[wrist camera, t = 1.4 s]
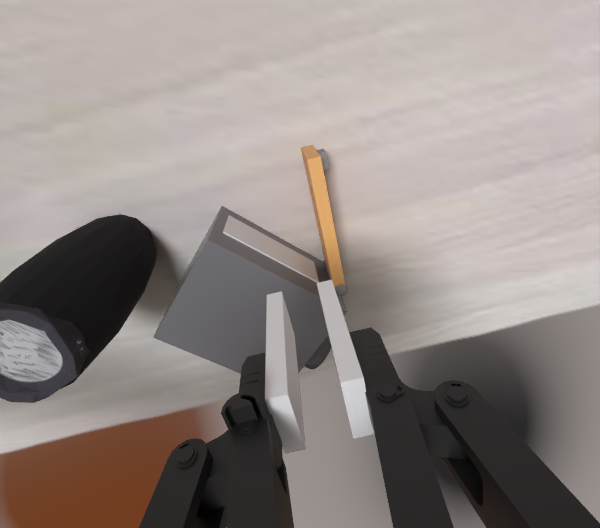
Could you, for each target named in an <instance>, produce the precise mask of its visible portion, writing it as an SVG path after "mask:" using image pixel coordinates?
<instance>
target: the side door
mask: <svg viewBox="0 0 600 528" xmlns="http://www.w3.org/2000/svg"><path fill="white" fill-rule="evenodd" d="M301 151H302V156H303V160H304V165H305V170H306V174H307V179H308V184H309V188H310V193H311V198H312V202H313V207H314V212H315V216H316V221H317V226H318V230H319V235H320V240H321V244H322V249H323V254H324V258H325V260H324V262H325V265H326V269H327V272H328V275H329V278H330V280H332V282H333V285H334V288H335V291H336V294H337V295H338V296H342V295H344V294H345V293H346V292H347V287H346V284H345V280H344V275H343V270H342V265H341V259H340V254H339V249H338V244H337V239H336V233H335V228H334V223H333V218H332V213H331V207H330V202H329V197H328V192H327V187H326V181H325V176H324V171H323V170H327V169H329V165H328V159H327V154H326V151H325V150H324V149H320V150H316V149H315V148H314V147H313V146H312V145H310V146H306V147H302V148H301Z"/></svg>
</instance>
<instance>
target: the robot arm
mask: <svg viewBox="0 0 600 528" xmlns="http://www.w3.org/2000/svg"><path fill="white" fill-rule="evenodd" d="M317 287H318V291H319V296H320V300H321V304H322V308H323V313H324V317H325V321H326V326H327V330H328V334H329V338H330V342H331V347H332V351H333V355H334V359H335V363H336V368H337V372H338V376H339V380H340V384H341V389H342V393H343V397H344V401H345V405H346V410H347V414H348V418H349V422H350V426H351V431H352V435H353V438H358V437H363V436H368V435H372V434H375V437H376V442H377V447H378V452H379V457H380V462H381V467H382V472H383V478H384V483H385V487H386V493H387V498H388V503H389V508H390V513H391V518H392V523H393V527H394V528H453V524H452V522H451V518H450V515H449V512H448V510H447V507H446V504H445V500H444V497H443V494H442V492H441V488H440V485H439V482H438V479H437V476H436V473H435V470H434V467H433V464H432V461H431V459H430V456H436V457H441V458H442V460H443V461H444V463H445V465H446V466H447V468H448V469H449V471H450V472H451V474H452V475H453V477H454V478H455V480H456V481H457V483H458V484H459V486H460V487H461V489H462V491H463V492H464V494H465V495H466V497H467V498H468V500H469V501H470V503H471V505H472V506H473V508H474V509H475V511H476V512H477V514H478V515H479V517H480V518H481V520H482V521H483V523H484V524H485V526H486V528H600V523H599V522H598V521H597V520H596V519H595V518H594V517H593V516H592V515H591V514H590V512H589V511H588V510H587V509H586V508H585V507H584V506H583V505H582V504H581V503H580V502H579V500H578V499H577V498H576V497H575V496H574V495H573V494H572V493H571V492H570V491H569V490H568V489H567V488H566V487H565V485H564V484H563V483H562V482H561V481H560V480H559V479H558V478H557V477H556V476H555V475H554V473H553V472H552V471H551V470H550V469H549V468H548V467H547V466H546V465H545V464H544V463H543V462H542V461H541V459H540V458H539V457H538V456H537V455H536V454H535V453H534V452H533V451H532V450H531V449H530V448H529V447H528V446H527V444H526V443H525V442H524V441H523V440H522V439H521V438H520V437H519V436H518V435H517V434H516V432H515V431H514V430H513V429H512V428H511V427H510V426H509V425H508V424H507V423H506V422H505V421H504V420H503V419H502V417H501V416H500V415H499V414H498V413H497V412H496V411H495V410H494V409H493V408H492V407H491V405H490V404H489V403H488V402H487V401H486V400H485V399H484V398H483V397H482V396H481V395H480V394H479V393H478V391H477V390H476V389H474V388H473V387H472V386H470V385H469V384H466V383H464V382H461V381H447V382H444V383H442V384H440V385H438V387H437V388H436V390H435V391H420V390H415V389H412V388H409V387H408V386H406V385H405V384H403V383H402V382H401V380H400V379H399V377H398V375H397V373H396V371H395V368H394V366H393V364H392V362H391V359H390V357H389V355H388V353H387V351H386V348H385V346H384V344H383V342H382V339H381V337H380V335H379V334H378V333H377V332H376V331H375V330H373V329H372V328H367V329H362V330H358V331H354V332H349V331H348V328H347V325H346V322H345V319H344V316H343V312H342V309H341V306H340V303H339V300H338V297H337V294H336V291H335V288H334V285H333V282H332V280H328V281H324V282H320V283H317ZM221 414H222V416H223V418H224V420H225V423H226V425H227V427H228V429H229V430H228V431H226V432H225V433H224V434H223V435H221V436H219V437H218V438H216V439H214V440H212V441H210V442H208V443H205V442H204V441H202V440H201V439H195V438H194V439H190V440H186V441H185V442H183V443H181V444H180V445H178V446H177V447H176V448H175V449H174V450H173V451H172V453H171V455H170V456H169V458H168V460H167V463H166V465H165V467H164V470H163V472H162V475H161V477H160V479H159V481H158V484H157V486H156V489H155V491H154V493H153V496H152V498H151V500H150V503H149V505H148V508H147V510H146V512H145V515H144V517H143V519H142V522H141V524H140V527H139V528H226V527H227V528H294V524H293V517H292V510H291V502H290V495H289V488H288V480H287V473H286V467H285V464H284V461H283V459H282V447H283V449H284V452H285V453H290V452H294V451H299V450H303V449H306V447H305V437H304V427H303V416H302V406H301V396H300V386H299V375H298V365H297V355H296V345H295V335H294V331H293V328H292V325H291V321H290V318H289V314H288V311H287V307H286V304H285V300H284V297H283V293H282V291H281V292H277V293H272V294H268V295H267V311H266V352H265V353H261V354H256V355H252V356H248V357H247V358H246V360H245V362H244V363H243V365H242V369H241V379H240V388H239V393H238V394H236V395H234V396H232V397H231V398H230V399H229V400H227V402H226V403H225V405H224V406H223V408H222V412H221Z"/></svg>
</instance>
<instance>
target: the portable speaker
mask: <svg viewBox="0 0 600 528" xmlns="http://www.w3.org/2000/svg"><path fill="white" fill-rule="evenodd" d="M72 231H73V230H72ZM155 262H156V250H155V246H154V242H153V239H152V237H151V234H150V231H149V229H148V228H147V227H146V226H144V225H143V224H142V223H141V222H139V221H138V220H137V219H136V218H132V217H128V216H124V215H115V216H108V217H103V218H98V219H96V220H94V221H92V222H90V223H88V224H86V225H84V226H82V227H80V228H78V229H76V230H74V231H73V232H71V233H69V234H67V235H65V236H63V237H61V238H59V239H57V240H56V241H54V242H53V243H51V244H50V245H49V246H47V247H46V248H44V249H43V250H42V251H40V252H39V253H37V254H36V255H35V256H33V257H32V258H30V259H29V260H28V261H26V262H25V263H23V264H22V265H21V266H19V267H18V268H17V269H15V270H14V271H13V272H11V273H10V274H9V275H8V276H7V277H6V278H5V279H4V280H3V281H1V282H0V398H2V399H5V400H7V401H10V402H31V403H34V402H37V401H39V400H42V399H45V398H47V397H49V396H50V395H52V394H53V393H55V392H56V391H58V390H59V389H61V388H63V387H65V386H67V385H69V384H71V383H73V382H74V381H75V380H76V379H77V378H78V377H79V376H80V375H81V374H82V372H83V371H84V370H85V369H86V368H87V367H88V366H89V365H90V363H91V362H92V361H93V360H94V359H95V358H96V357H97V356H98V355H99V353H100V352H101V351H102V350H103V349H104V348H105V347H106V346H107V345H108V343H109V342H110V341H111V340H112V339H113V338H114V337H115V336H116V334H117V333H118V332H119V331H120V329H121V328H122V326H123V324H124V323H125V321H126V320H127V318H128V317H129V315H130V313H131V312H132V310H133V309H134V307H135V305H136V304H137V302H138V301H139V299H140V297H141V296H142V294H143V293H144V291H145V288H146V286H147V283H148V280H149V278H150V275H151V273H152V270H153V267H154V265H155Z"/></svg>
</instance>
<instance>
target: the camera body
mask: <svg viewBox="0 0 600 528" xmlns="http://www.w3.org/2000/svg"><path fill="white" fill-rule="evenodd" d="M328 280H330V278H329V275H328V272H327V269H326V265H325V263H324V262H322V261H320V260H319V259H317V258H315V257H313V256H311V255H310V254H308V253H306V252H304V251H302V250H301V249H299V248H297V247H295V246H293V245H292V244H290V243H288V242H286V241H284V240H282V239H281V238H279V237H277V236H275V235H273V234H272V233H270V232H268V231H266V230H264V229H263V228H261V227H259V226H257V225H255V224H254V223H252V222H250V221H248V220H246V219H244V218H243V217H241V216H239V215H237V214H235V213H234V212H232V211H230V210H228V209H226V208H225V207H223V206H222V207H221V209H220V211H219V212H218V214H217V216H216V218H215V220H214V222H213V223H212V225H211V227H210V229H209V231H208V232H207V234H206V236H205V238H204V240H203V241H202V243H201V245H200V247H199V249H198V250H197V252H196V254H195V256H194V258H193V259H192V261H191V263H190V265H189V267H188V268H187V270H186V272H185V274H184V276H183V277H182V279H181V281H180V283H179V285H178V287H177V289H176V291H175V293H174V295H173V297H172V299H171V301H170V303H169V305H168V307H167V310H166V312H165V314H164V316H163V318H162V320H161V322H160V324H159V326H158V329H157V331H156V333H155V335H154V337H153V338H156V339H158V340H161V341H163V342H166V343H168V344H171V345H173V346H175V347H178V348H180V349H183V350H185V351H188V352H190V353H192V354H195V355H197V356H200V357H202V358H205V359H207V360H210V361H212V362H214V363H217V364H219V365H222V366H224V367H227V368H229V369H232V370H234V371H236V372H239V373H241V369H242V365H243V363H244V362H245V360H246V358H247V357H248V356H252V355H256V354H261V353H265V352H266V311H267V295H268V294H272V293H277V292H281V291H282V293H283V297H284V300H285V304H286V307H287V311H288V314H289V318H290V321H291V325H292V328H293V331H294V335H295V345H296V355H297V365H298V373H299V371H300V370H301V369H302V368H303V366H305V367H307V368H309V369H315V368H317V367H318V366H319V365H321V363H322V362H323V361H324V360H325V358H326V357H327V355H328V353H329V351H330V349H331V342H330V338H329V334H328V330H327V326H326V321H325V317H324V313H323V308H322V304H321V300H320V296H319V291H318V287H317V283H320V282H324V281H328ZM337 297H338V300H339V303H340V306H341V309H342V312H343V316H344V314H345V313H346V312H347V310H346V307H345V304H344V301H343V298H342V296H338V295H337Z"/></svg>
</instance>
